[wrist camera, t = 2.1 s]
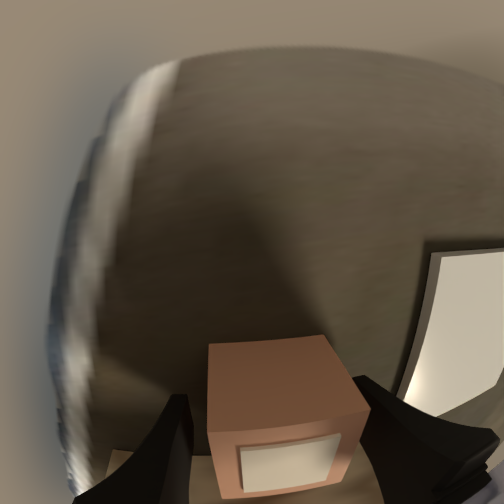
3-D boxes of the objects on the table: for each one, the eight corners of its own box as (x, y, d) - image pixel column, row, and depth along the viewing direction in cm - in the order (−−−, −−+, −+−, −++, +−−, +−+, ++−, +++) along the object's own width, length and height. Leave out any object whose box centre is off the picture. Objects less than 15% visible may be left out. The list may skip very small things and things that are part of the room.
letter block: (322, 333, 12) (372, 412, 7) (312, 409, 13) (342, 484, 8) (208, 342, 12) (207, 436, 7) (218, 419, 13) (222, 501, 8)
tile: (531, 245, 13) (538, 248, 12) (490, 380, 16) (495, 385, 15) (431, 252, 12) (441, 257, 11) (383, 427, 15) (388, 435, 14)
